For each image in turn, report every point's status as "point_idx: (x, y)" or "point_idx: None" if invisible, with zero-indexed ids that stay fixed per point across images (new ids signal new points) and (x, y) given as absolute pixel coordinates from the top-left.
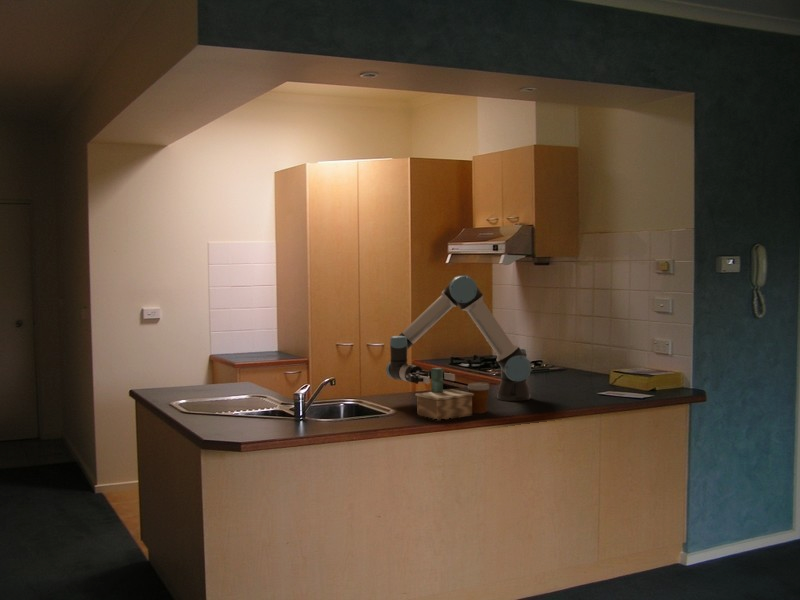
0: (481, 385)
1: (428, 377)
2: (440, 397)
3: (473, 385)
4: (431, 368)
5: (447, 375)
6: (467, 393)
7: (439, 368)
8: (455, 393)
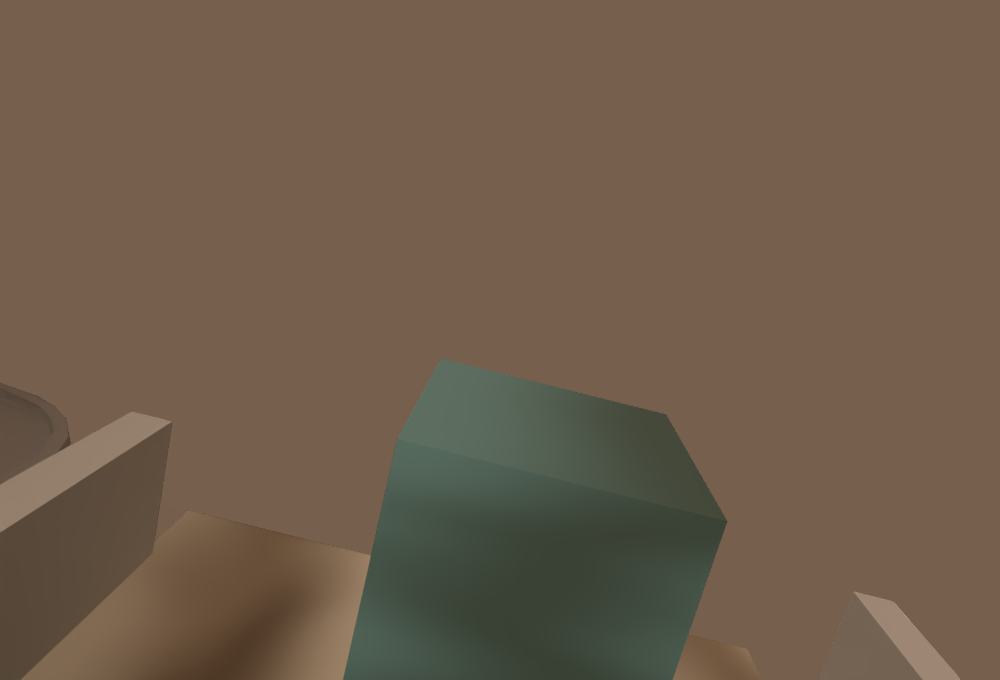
0: (42, 400)
1: (884, 599)
2: (682, 653)
3: (61, 448)
4: (719, 508)
5: (1, 590)
6: (218, 550)
7: (496, 392)
8: (311, 645)
